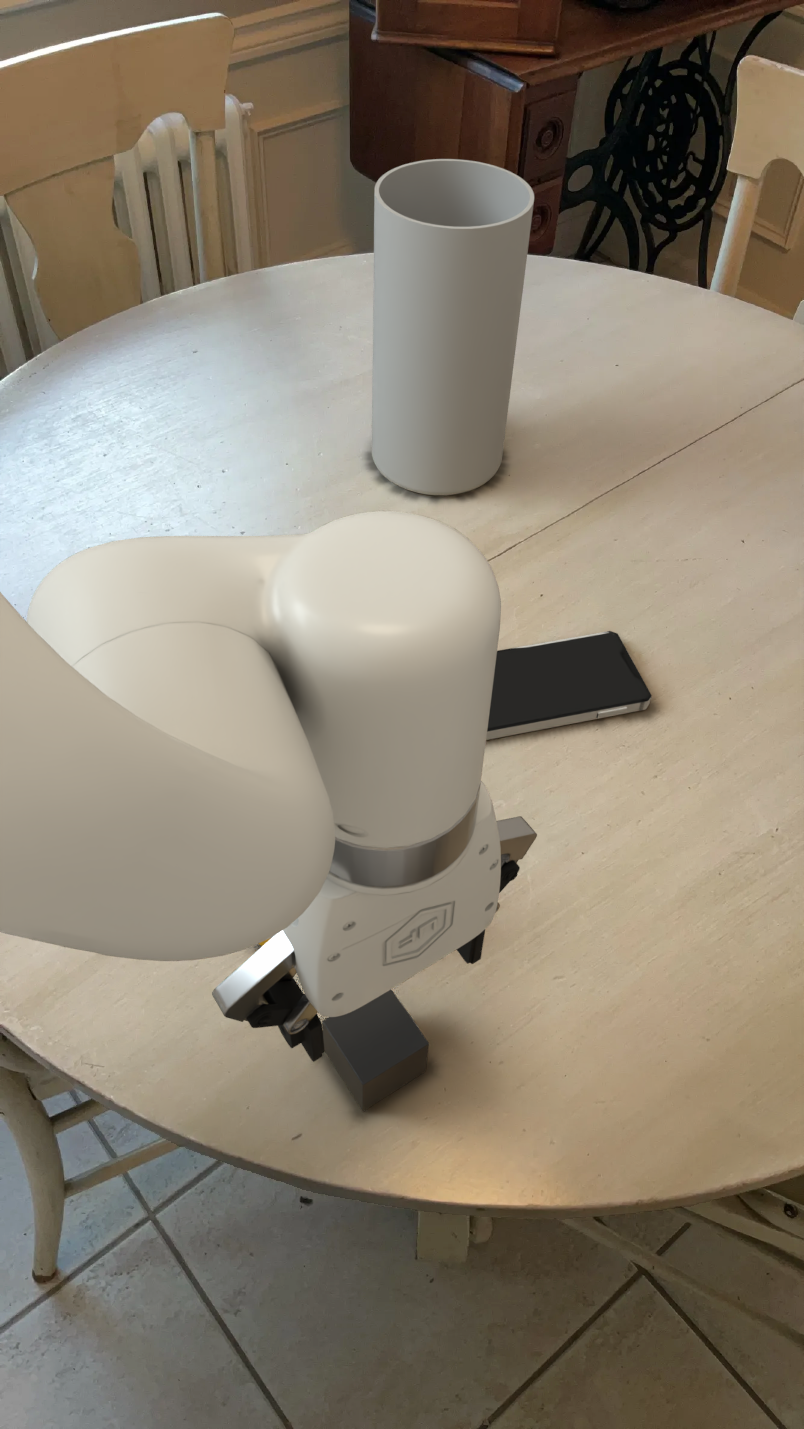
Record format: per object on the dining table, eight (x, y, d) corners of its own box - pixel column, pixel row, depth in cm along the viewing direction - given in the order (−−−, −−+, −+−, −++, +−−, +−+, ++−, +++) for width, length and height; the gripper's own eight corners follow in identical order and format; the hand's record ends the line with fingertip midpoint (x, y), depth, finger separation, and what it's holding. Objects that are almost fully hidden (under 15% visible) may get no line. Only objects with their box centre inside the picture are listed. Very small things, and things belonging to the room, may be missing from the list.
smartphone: (436, 659, 82) (615, 628, 85) (436, 670, 83) (612, 638, 86) (466, 736, 77) (655, 700, 80) (465, 747, 78) (651, 711, 81)
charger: (362, 1112, 60) (362, 1085, 57) (323, 1049, 63) (321, 1021, 60) (428, 1069, 62) (432, 1041, 59) (388, 1010, 64) (389, 980, 61)
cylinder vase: (528, 466, 101) (567, 200, 82) (429, 516, 95) (447, 244, 76) (442, 407, 107) (460, 146, 88) (345, 451, 102) (342, 183, 83)
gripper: (236, 976, 37) (273, 1140, 50) (609, 766, 43) (556, 960, 56) (146, 827, 41) (202, 1015, 54) (500, 655, 47) (474, 860, 60)
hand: (383, 987), depth 55 cm, fingers open, 9 cm apart
